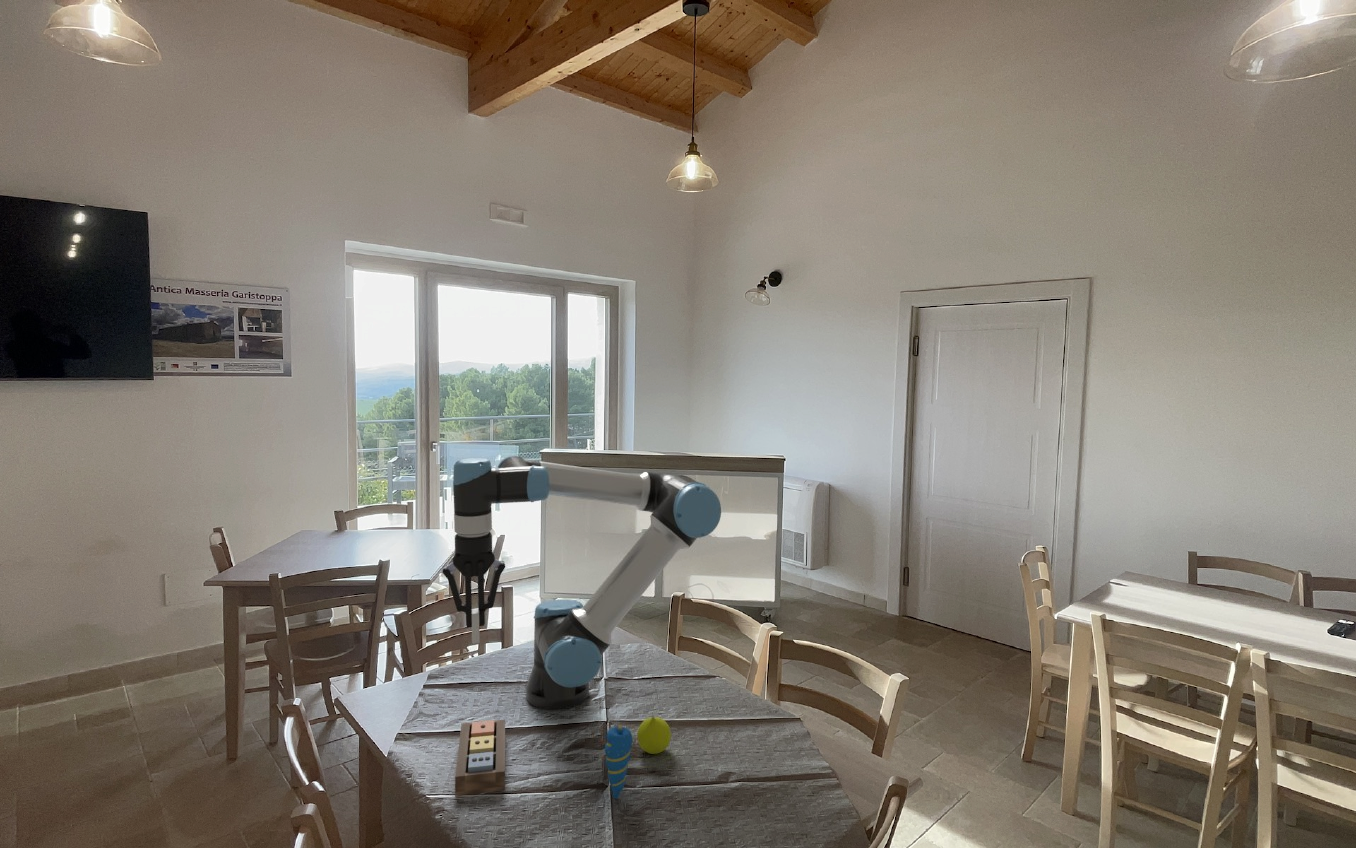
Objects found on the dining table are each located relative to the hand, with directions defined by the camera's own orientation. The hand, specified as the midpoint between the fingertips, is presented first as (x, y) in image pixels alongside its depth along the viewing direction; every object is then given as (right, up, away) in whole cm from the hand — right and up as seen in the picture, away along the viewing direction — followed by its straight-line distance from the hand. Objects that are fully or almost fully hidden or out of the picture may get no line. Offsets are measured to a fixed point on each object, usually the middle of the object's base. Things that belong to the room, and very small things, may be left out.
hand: (475, 640), depth 146 cm
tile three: (+5, -21, -14) cm, 26 cm away
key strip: (+4, -22, -8) cm, 24 cm away
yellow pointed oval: (+38, -23, -1) cm, 44 cm away
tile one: (+2, -20, -2) cm, 20 cm away
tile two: (+4, -21, -8) cm, 23 cm away
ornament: (+32, -24, -17) cm, 44 cm away
